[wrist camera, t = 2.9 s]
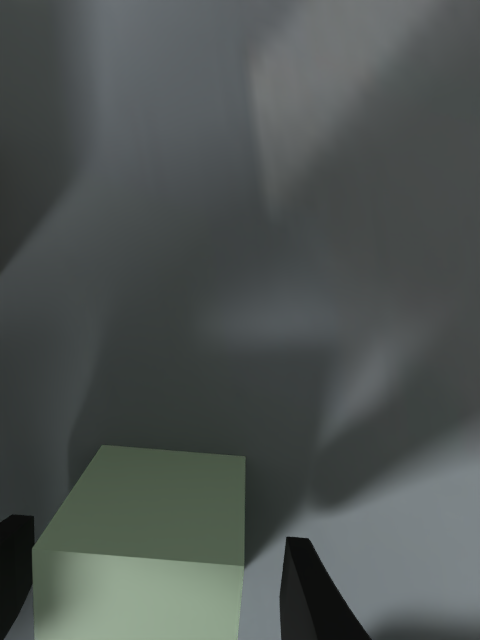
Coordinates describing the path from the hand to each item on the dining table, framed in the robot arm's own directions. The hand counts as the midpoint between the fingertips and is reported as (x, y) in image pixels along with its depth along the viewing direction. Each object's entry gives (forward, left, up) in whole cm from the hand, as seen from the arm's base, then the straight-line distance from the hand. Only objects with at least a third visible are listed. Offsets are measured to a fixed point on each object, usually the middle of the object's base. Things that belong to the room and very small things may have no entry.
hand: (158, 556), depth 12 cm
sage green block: (0, 0, -2) cm, 2 cm away
